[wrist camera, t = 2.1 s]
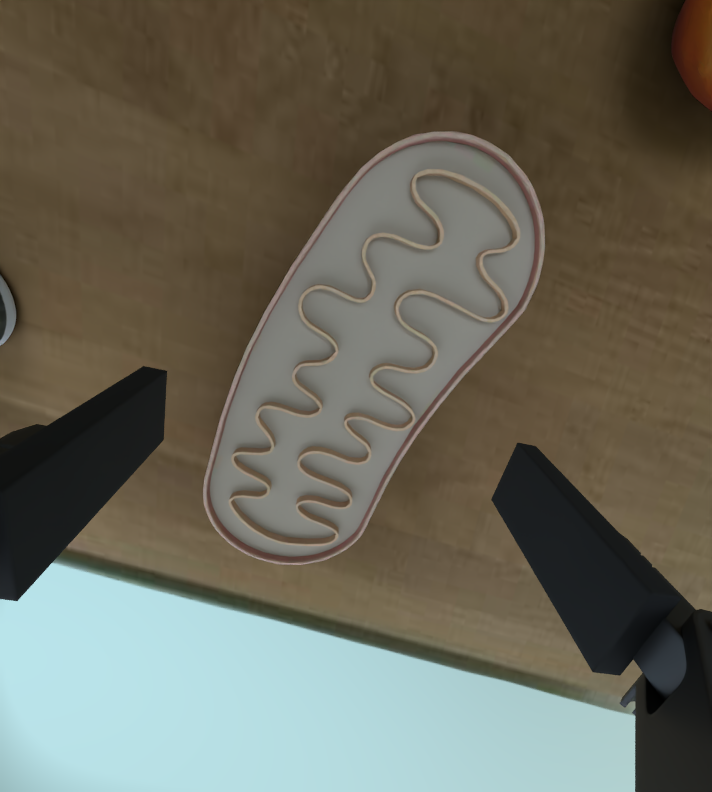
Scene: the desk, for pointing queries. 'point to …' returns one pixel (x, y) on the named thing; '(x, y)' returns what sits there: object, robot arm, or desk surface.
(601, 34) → the desk surface
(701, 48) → the fruit
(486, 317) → the anatomical model
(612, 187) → the desk surface
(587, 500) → the robot arm
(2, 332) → the pill bottle
